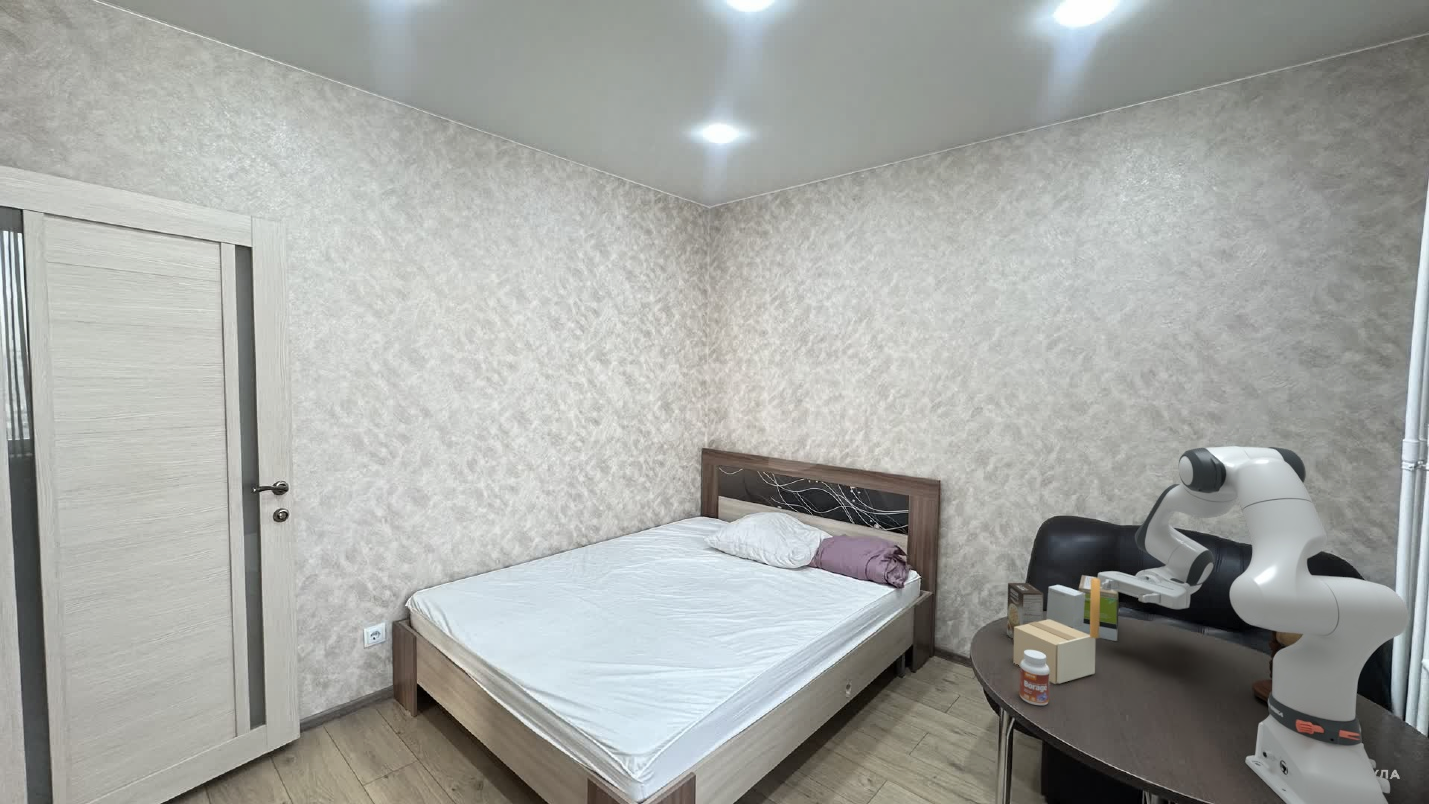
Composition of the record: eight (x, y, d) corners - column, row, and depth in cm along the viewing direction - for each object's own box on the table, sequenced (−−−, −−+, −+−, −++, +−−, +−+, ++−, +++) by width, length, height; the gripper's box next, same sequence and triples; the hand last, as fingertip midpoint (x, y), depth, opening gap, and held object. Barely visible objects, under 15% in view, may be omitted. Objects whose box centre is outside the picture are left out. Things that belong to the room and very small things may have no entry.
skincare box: (1045, 634, 174) (1045, 586, 174) (1056, 631, 178) (1057, 583, 177) (1073, 645, 167) (1074, 595, 167) (1084, 641, 170) (1085, 591, 170)
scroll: (1360, 723, 128) (1363, 635, 128) (1300, 725, 127) (1302, 636, 127) (1290, 689, 143) (1292, 610, 143) (1235, 691, 142) (1236, 611, 142)
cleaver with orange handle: (1056, 682, 145) (1058, 584, 144) (1092, 672, 150) (1094, 577, 150) (1064, 686, 143) (1066, 586, 142) (1100, 675, 148) (1101, 579, 148)
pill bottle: (1021, 703, 136) (1021, 657, 136) (1017, 690, 142) (1018, 646, 141) (1051, 708, 134) (1051, 661, 133) (1046, 695, 139) (1047, 650, 139)
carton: (1013, 663, 156) (1014, 626, 156) (1048, 654, 161) (1049, 618, 161) (1054, 684, 145) (1055, 644, 145) (1091, 673, 150) (1091, 635, 150)
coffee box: (1005, 634, 175) (1006, 582, 175) (1026, 634, 175) (1027, 582, 174) (1021, 647, 166) (1022, 592, 165) (1043, 648, 166) (1044, 592, 165)
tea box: (1080, 618, 188) (1081, 573, 187) (1118, 626, 182) (1119, 579, 182) (1077, 634, 175) (1078, 586, 175) (1117, 642, 170) (1118, 593, 169)
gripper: (1115, 563, 168) (1084, 569, 162) (1196, 586, 149) (1164, 593, 144) (1114, 585, 168) (1083, 591, 163) (1196, 610, 149) (1163, 618, 144)
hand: (1122, 592), depth 153 cm, fingers open, 8 cm apart
